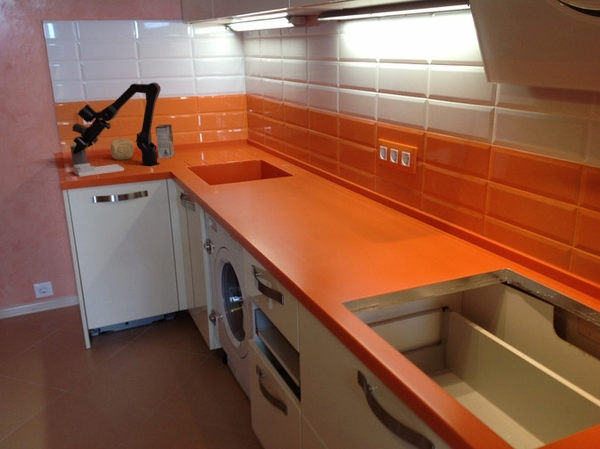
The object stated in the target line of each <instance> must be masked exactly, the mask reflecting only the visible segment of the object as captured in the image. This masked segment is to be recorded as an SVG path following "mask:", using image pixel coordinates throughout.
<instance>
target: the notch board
mask: <svg viewBox="0 0 600 449" xmlns="http://www.w3.org/2000/svg"><path fill="white" fill-rule="evenodd" d="M72 165H73V164H72ZM73 166H74V167H73V173H75V174H76V176H78V177H80V178H81V177H86V176H87V177H88V176H94V175H100V174H109V173H110V174H111V173H117V172H123V171H125V168H124V167H122V166H121V165H119V164H117V163H116V164H108V165H100V166H95V165H91V162H87V163H86V164H78V165H73Z"/></svg>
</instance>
